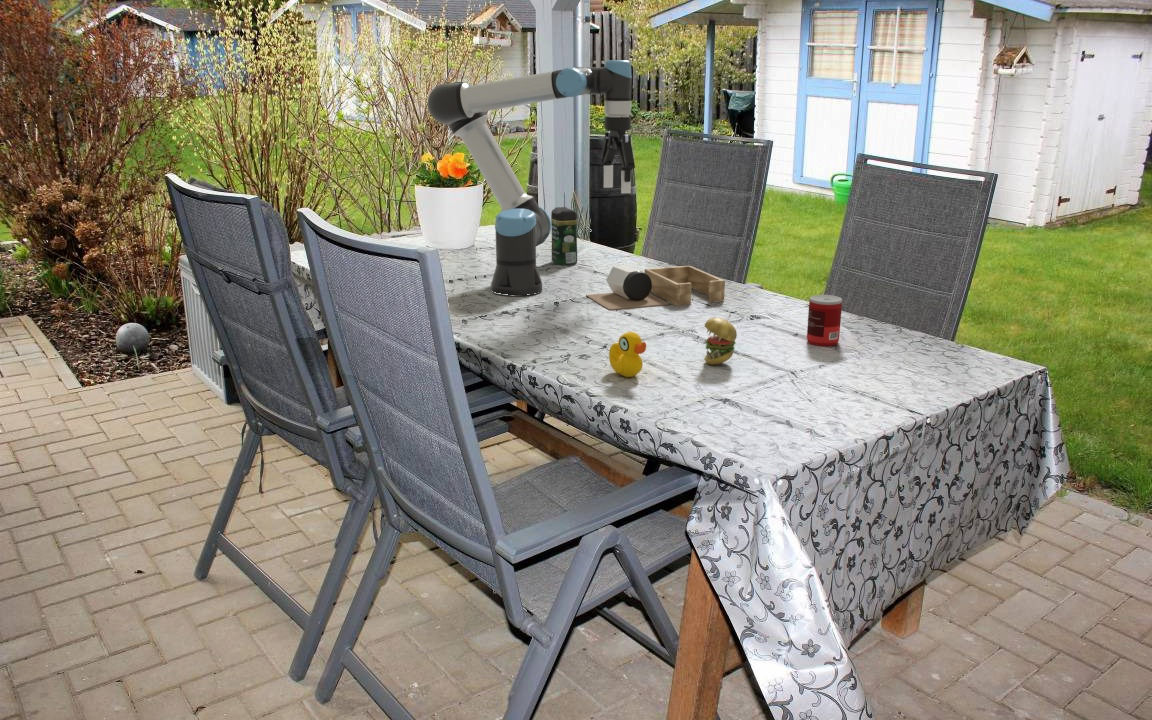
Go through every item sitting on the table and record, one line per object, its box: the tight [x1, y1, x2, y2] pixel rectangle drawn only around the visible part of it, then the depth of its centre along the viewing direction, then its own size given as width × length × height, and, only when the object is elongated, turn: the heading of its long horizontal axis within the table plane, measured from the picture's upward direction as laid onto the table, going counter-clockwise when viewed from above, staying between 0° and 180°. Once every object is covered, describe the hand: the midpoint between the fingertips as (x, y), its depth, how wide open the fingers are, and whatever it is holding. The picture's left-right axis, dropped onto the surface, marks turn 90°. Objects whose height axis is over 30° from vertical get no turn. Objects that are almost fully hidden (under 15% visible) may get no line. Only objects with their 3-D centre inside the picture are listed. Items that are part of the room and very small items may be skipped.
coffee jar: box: [550, 206, 578, 266], centre depth 332 cm, size 10×8×19 cm
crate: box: [644, 265, 726, 307], centre depth 289 cm, size 15×22×6 cm
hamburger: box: [703, 312, 738, 366], centre depth 224 cm, size 8×7×12 cm
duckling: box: [608, 331, 647, 378], centre depth 216 cm, size 11×5×10 cm, turn 35°
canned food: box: [806, 294, 843, 347], centre depth 241 cm, size 8×8×11 cm
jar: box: [606, 264, 652, 301], centre depth 286 cm, size 9×8×12 cm
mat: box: [585, 292, 670, 311], centre depth 284 cm, size 18×18×1 cm
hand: (616, 190), depth 293 cm, fingers open, 13 cm apart
